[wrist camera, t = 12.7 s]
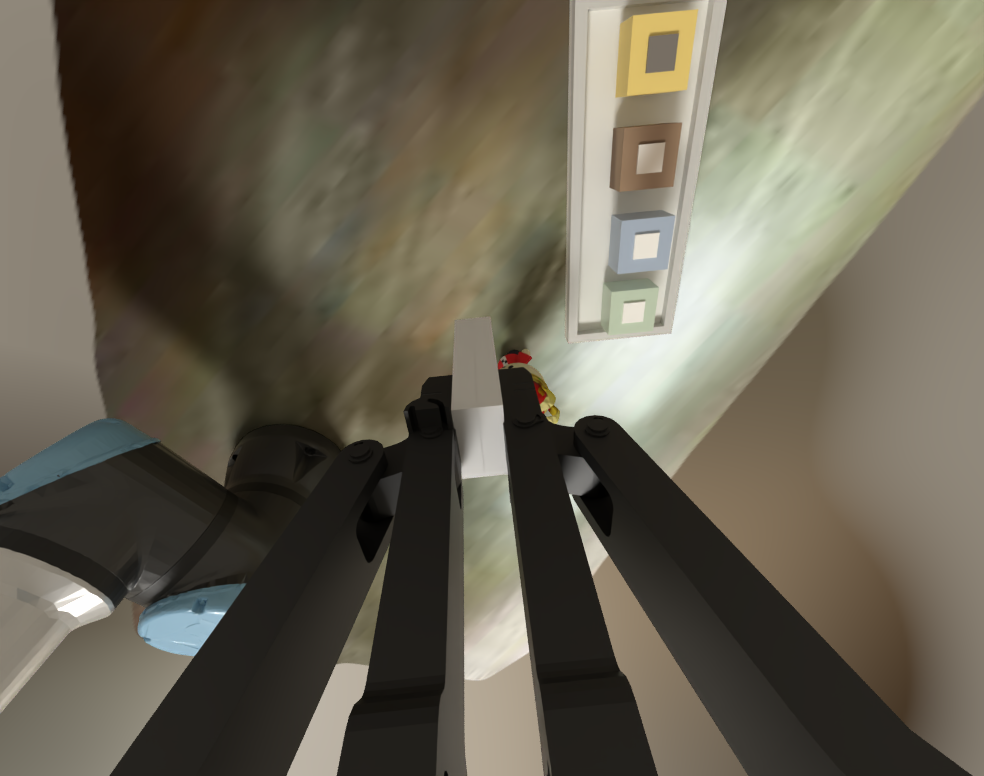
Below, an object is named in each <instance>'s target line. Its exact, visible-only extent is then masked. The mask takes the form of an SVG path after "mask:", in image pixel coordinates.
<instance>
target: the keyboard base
mask: <svg viewBox="0 0 984 776" xmlns="http://www.w3.org/2000/svg"><path fill="white" fill-rule="evenodd" d="M726 3H727V0H570V20H569V87H568V155H567V222H566V289H565V338H566V340H567V342H568V344H570V343H580V342H590V341H600V340H610V339H620V338H630V337H640V336H650V335H660V334H670V333H671V332H672V326H673V320H674V314H675V308H676V302H677V296H678V290H679V284H680V278H681V272H682V266H683V260H684V254H685V248H686V242H687V236H688V230H689V225H690V219H691V213H692V207H693V201H694V195H695V189H696V183H697V177H698V171H699V165H700V159H701V153H702V147H703V141H704V135H705V129H706V123H707V117H708V111H709V105H710V99H711V93H712V87H713V81H714V75H715V69H716V63H717V57H718V51H719V45H720V39H721V33H722V27H723V21H724V15H725V9H726ZM695 9H698V15H697V22H696V29H695V36H694V43H693V50H692V57H691V65H690V72H689V79H688V86H687V90H682V91H676V92H669V93H658V94H648V95H638V96H627V97H617V98H615V94H616V79H617V63H618V48H619V33H620V24H621V23H622V22H624V21H625V20H627V19H628V18H630V17H632V16H633V15H643V14H653V13H664V12H674V11H685V10H695ZM681 122H682V128H681V136H680V143H679V150H678V157H677V164H676V171H675V178H674V185H673V187H665V188H655V189H644V190H634V191H624V192H618V191H616V190H614V189H611V188H609V186H610V171H611V155H612V140H613V128H618V127H628V126H639V125H649V124H659V123H681ZM655 210H663V211H666V212H668V213H670V214H673V215H675V222H674V229H673V236H672V242H671V249H670V256H669V263H668V269H665V270H655V271H645V272H635V273H625V274H617V273H616V272H615V271H614V270H613V269H611V268H610V267H609V266H608V260H609V245H610V231H611V217H612V215H615V214H625V213H635V212H645V211H655ZM644 278H648V279H650V280H651V281H652V282H653V283H654V284H656V285H657V286H658V287H659V292H658V299H657V306H656V313H655V320H654V327H653V331H647V332H637V333H627V334H617V335H608V334H607V333H606V331H605V330H604V328H603V327H602V325H601V309H602V293H603V283H604V282H614V281H624V280H634V279H644Z"/></svg>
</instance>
